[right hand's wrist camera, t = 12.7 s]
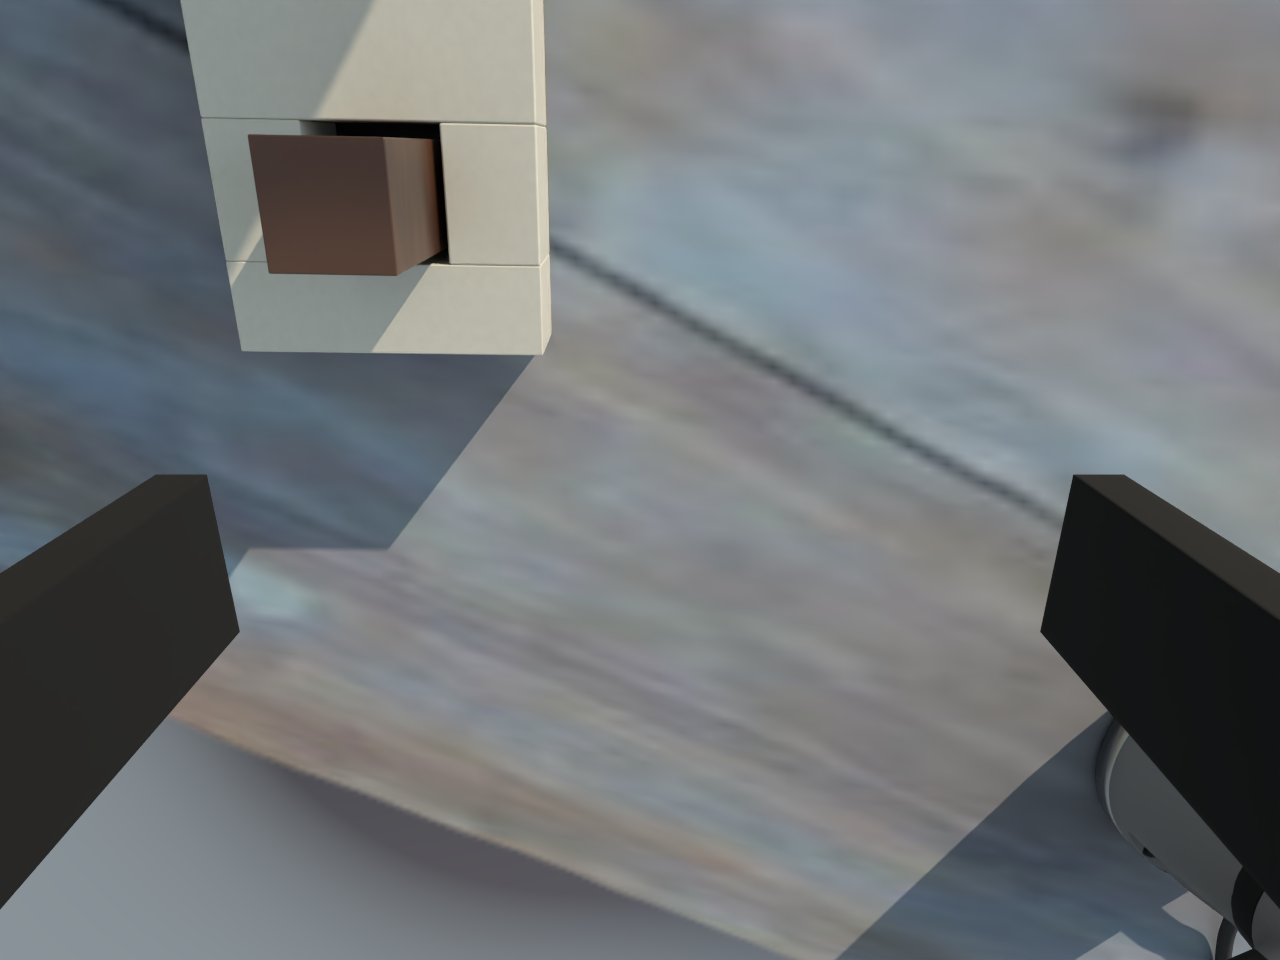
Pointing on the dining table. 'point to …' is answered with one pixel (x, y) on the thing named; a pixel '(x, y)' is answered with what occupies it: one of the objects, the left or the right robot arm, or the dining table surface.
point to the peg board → (387, 94)
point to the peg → (348, 203)
